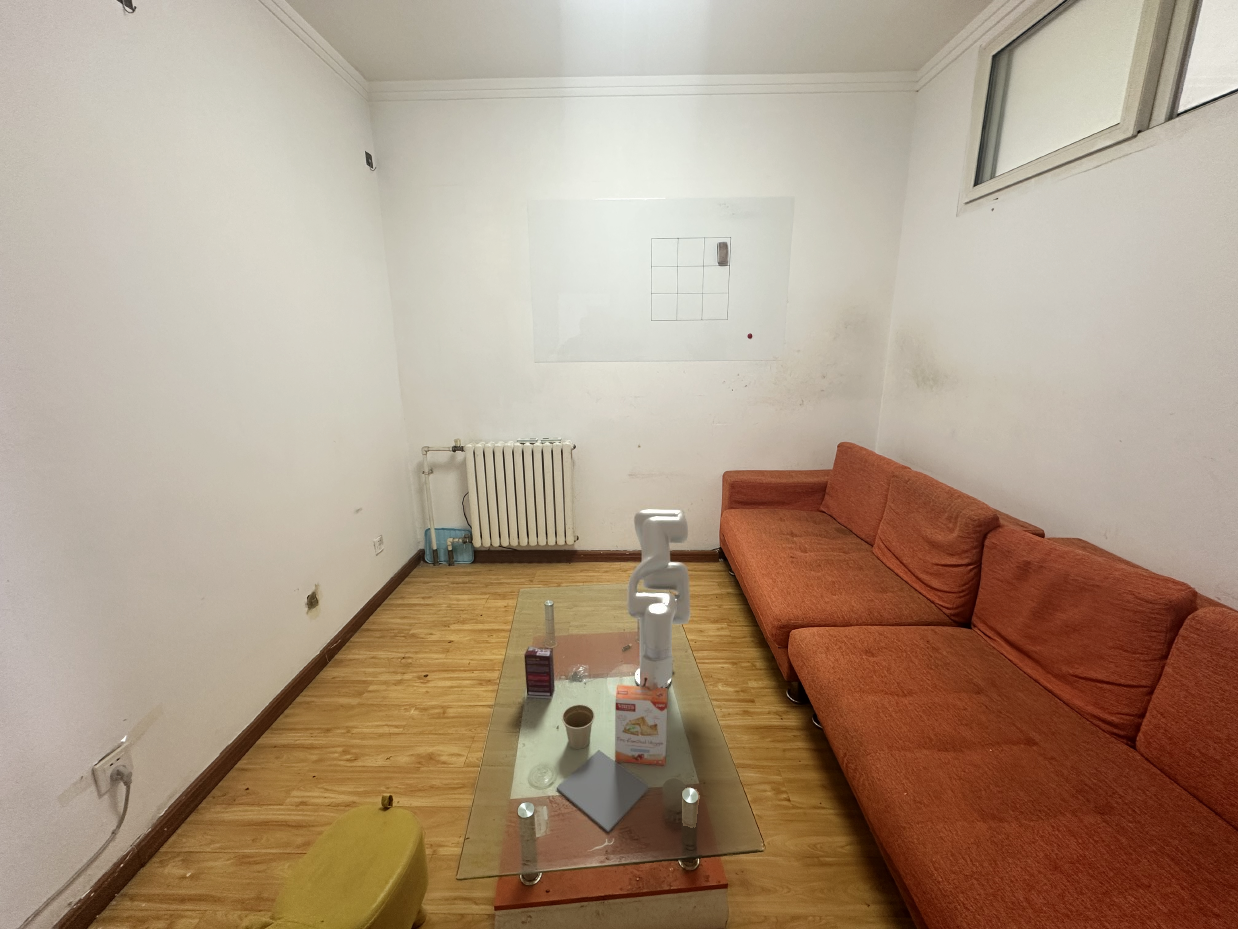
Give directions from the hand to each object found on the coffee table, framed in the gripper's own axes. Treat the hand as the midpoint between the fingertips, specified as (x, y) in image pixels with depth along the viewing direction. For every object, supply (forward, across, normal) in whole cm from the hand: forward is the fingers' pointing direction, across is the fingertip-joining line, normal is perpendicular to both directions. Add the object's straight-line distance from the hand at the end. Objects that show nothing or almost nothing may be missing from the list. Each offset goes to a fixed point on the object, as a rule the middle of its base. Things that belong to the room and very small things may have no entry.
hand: (656, 705), depth 139 cm
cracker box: (+12, +7, 0) cm, 14 cm away
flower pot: (+12, +14, -17) cm, 26 cm away
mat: (+12, +22, -1) cm, 25 cm away
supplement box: (+12, +8, -41) cm, 44 cm away
